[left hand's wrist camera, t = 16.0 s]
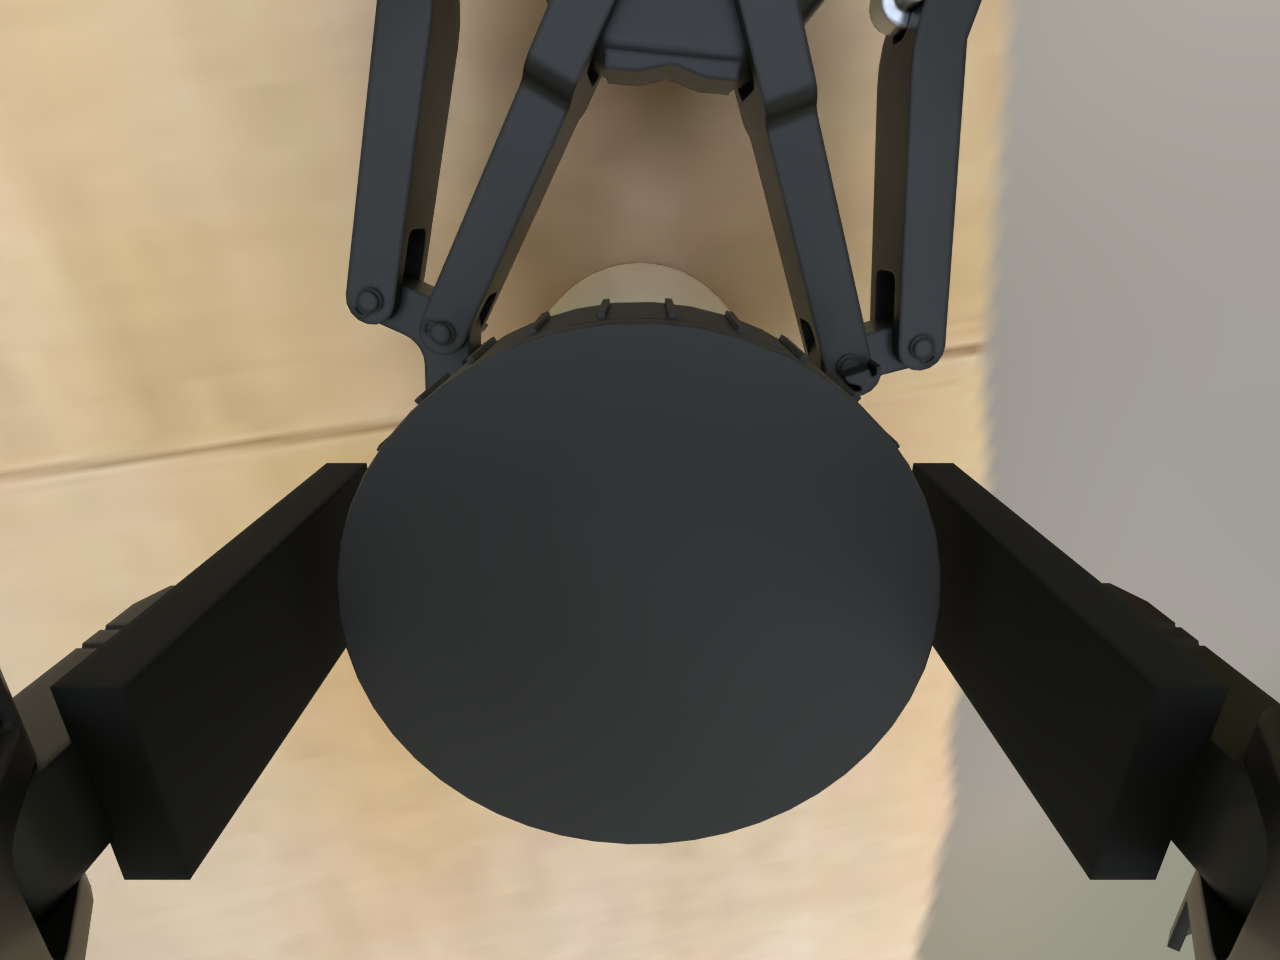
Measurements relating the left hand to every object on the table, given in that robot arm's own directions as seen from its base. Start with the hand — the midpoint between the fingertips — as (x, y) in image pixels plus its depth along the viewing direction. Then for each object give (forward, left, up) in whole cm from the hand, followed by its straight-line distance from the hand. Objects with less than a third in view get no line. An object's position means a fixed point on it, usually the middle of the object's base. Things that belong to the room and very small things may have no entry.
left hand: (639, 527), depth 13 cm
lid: (0, 0, +3) cm, 3 cm away
